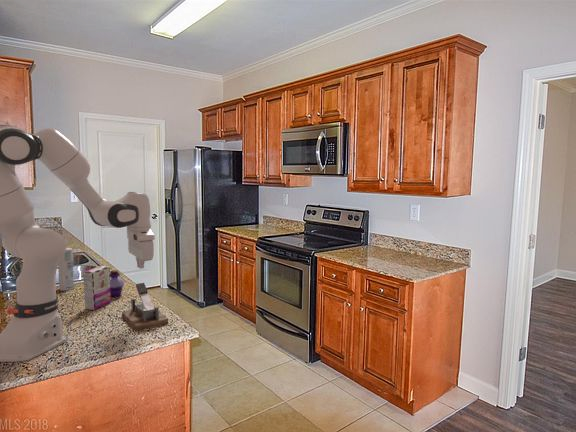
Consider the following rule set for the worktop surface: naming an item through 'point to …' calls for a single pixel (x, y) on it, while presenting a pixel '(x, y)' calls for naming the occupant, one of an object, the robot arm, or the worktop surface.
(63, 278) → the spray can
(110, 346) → the worktop surface
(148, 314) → the block
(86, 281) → the candy bar box
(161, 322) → the walnut base plate
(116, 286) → the potion bottle
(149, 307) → the clamp bar
